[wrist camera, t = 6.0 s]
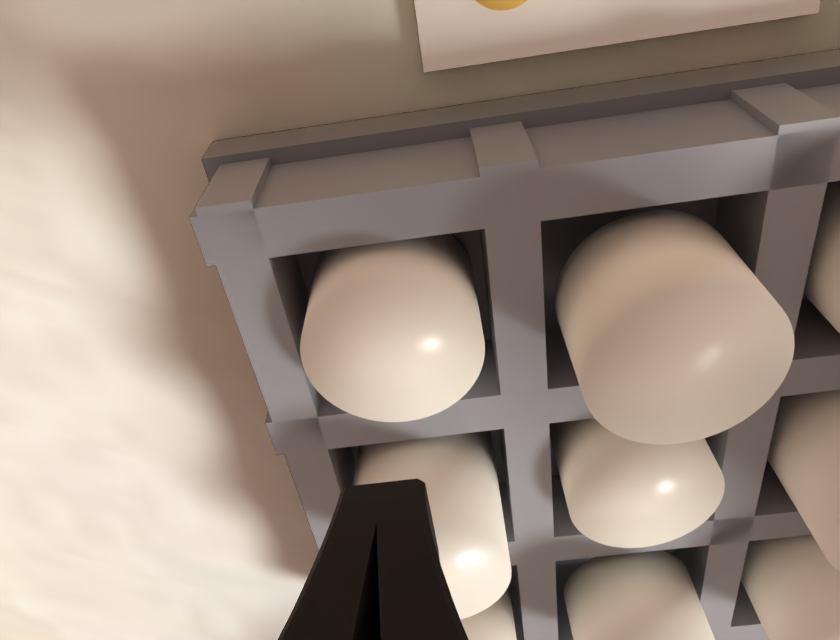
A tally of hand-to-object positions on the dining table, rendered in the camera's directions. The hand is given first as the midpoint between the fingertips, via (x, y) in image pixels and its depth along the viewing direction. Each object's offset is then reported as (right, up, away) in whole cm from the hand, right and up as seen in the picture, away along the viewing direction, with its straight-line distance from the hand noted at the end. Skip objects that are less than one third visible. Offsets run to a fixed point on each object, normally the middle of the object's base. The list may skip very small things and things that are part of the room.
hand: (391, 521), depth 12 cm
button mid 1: (+6, +4, +4) cm, 8 cm away
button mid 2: (+7, -6, +11) cm, 15 cm away
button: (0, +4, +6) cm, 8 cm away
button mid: (+7, 0, +9) cm, 11 cm away
